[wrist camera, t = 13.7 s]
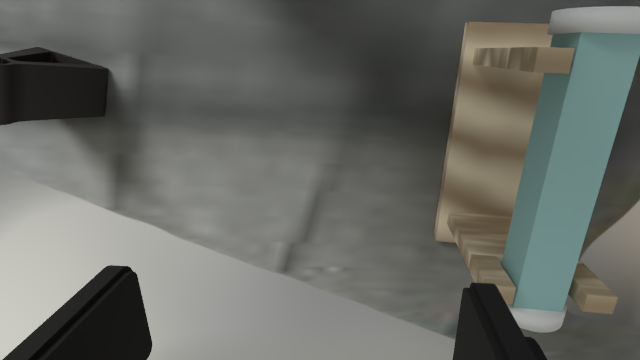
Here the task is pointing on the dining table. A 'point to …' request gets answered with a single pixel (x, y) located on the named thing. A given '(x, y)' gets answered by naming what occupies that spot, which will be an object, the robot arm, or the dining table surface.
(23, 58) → the phone stand
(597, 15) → the teal long bar
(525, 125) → the stand
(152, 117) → the dining table surface
